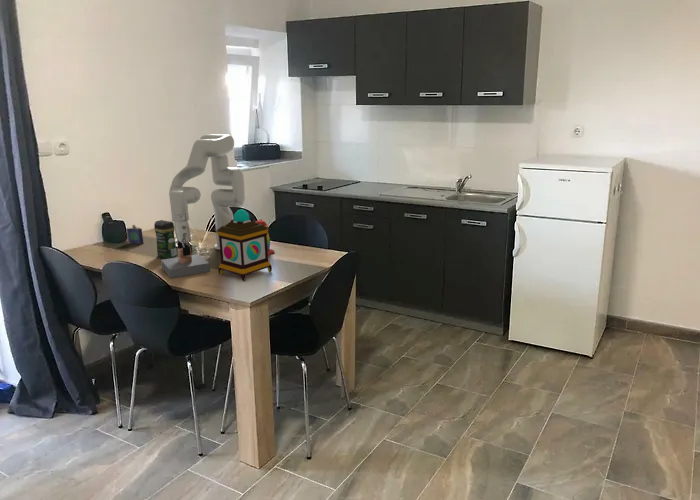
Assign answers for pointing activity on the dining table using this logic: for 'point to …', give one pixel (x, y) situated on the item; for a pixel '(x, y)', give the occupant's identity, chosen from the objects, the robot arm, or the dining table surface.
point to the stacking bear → (267, 237)
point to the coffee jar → (165, 239)
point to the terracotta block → (183, 258)
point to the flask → (134, 235)
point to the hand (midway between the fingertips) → (184, 252)
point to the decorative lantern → (243, 246)
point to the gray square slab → (185, 266)
